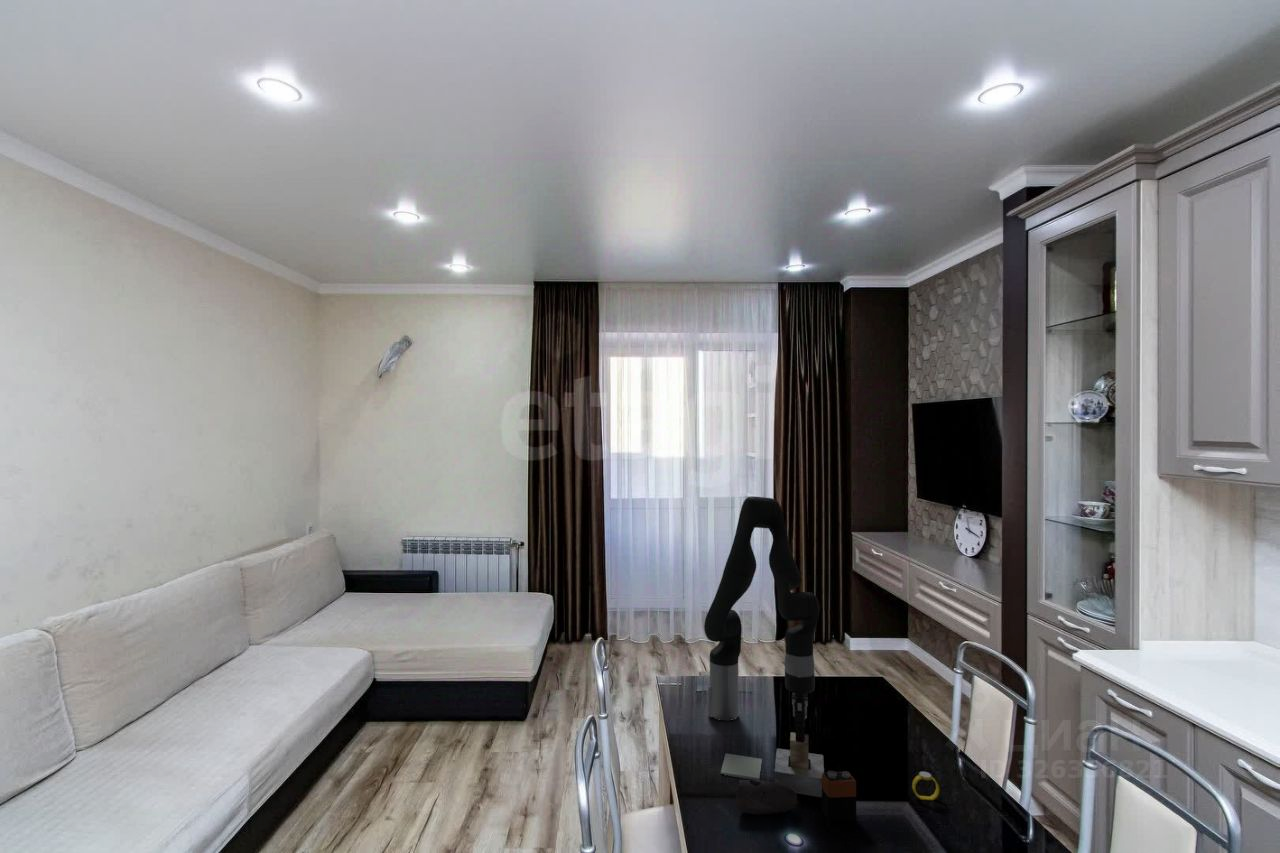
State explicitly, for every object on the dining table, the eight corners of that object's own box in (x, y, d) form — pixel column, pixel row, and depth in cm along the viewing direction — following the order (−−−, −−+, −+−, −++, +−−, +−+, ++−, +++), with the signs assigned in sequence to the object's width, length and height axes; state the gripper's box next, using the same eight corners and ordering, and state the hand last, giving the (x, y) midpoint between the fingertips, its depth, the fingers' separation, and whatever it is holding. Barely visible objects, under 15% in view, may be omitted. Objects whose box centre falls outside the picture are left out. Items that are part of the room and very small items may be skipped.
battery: (821, 811, 138) (820, 768, 139) (848, 810, 139) (848, 767, 139) (828, 823, 134) (828, 778, 134) (857, 821, 134) (856, 777, 135)
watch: (916, 802, 143) (913, 777, 143) (911, 796, 145) (909, 771, 146) (941, 802, 142) (939, 777, 142) (937, 795, 145) (934, 771, 145)
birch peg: (790, 784, 150) (790, 740, 150) (790, 774, 154) (790, 732, 154) (808, 787, 148) (808, 742, 149) (808, 777, 153) (808, 734, 153)
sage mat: (720, 774, 154) (720, 772, 154) (725, 755, 163) (725, 753, 163) (759, 780, 151) (759, 778, 151) (762, 761, 161) (762, 758, 161)
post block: (774, 789, 147) (774, 771, 147) (776, 765, 158) (776, 748, 159) (824, 797, 144) (824, 779, 144) (823, 772, 155) (823, 754, 155)
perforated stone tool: (794, 805, 141) (794, 776, 141) (801, 819, 135) (800, 788, 136) (732, 805, 140) (732, 775, 141) (736, 818, 135) (736, 788, 136)
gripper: (785, 659, 160) (786, 720, 159) (783, 678, 147) (784, 745, 146) (814, 662, 158) (815, 723, 157) (814, 681, 145) (815, 749, 144)
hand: (800, 733), depth 151 cm, fingers open, 8 cm apart
